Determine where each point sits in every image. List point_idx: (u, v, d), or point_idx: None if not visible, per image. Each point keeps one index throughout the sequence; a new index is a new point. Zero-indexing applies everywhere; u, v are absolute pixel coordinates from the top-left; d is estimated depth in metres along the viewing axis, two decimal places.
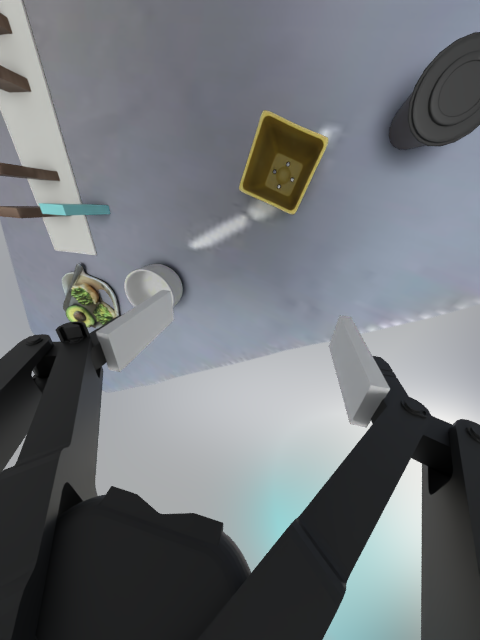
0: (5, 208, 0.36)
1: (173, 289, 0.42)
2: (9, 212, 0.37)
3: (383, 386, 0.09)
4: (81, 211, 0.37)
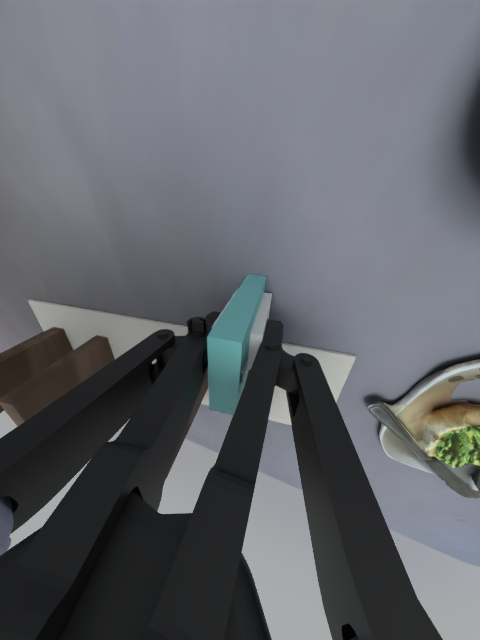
0: None
1: None
2: None
3: (259, 334, 0.11)
4: (244, 308, 0.12)
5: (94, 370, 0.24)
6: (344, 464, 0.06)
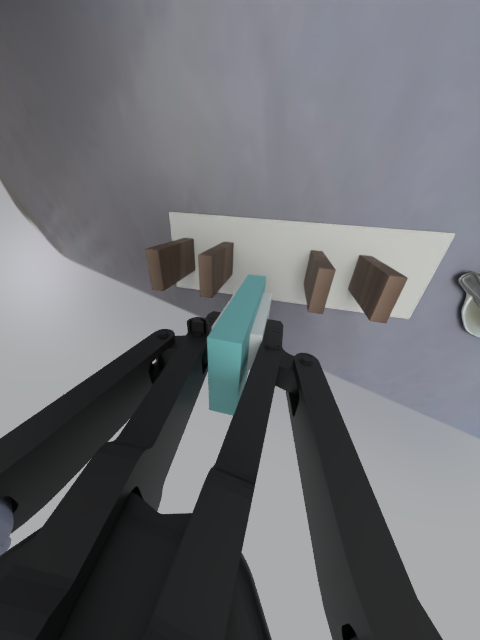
0: (381, 300, 0.21)
1: None
2: (390, 296, 0.20)
3: (259, 334, 0.11)
4: (244, 309, 0.12)
5: (228, 265, 0.30)
6: (344, 464, 0.06)
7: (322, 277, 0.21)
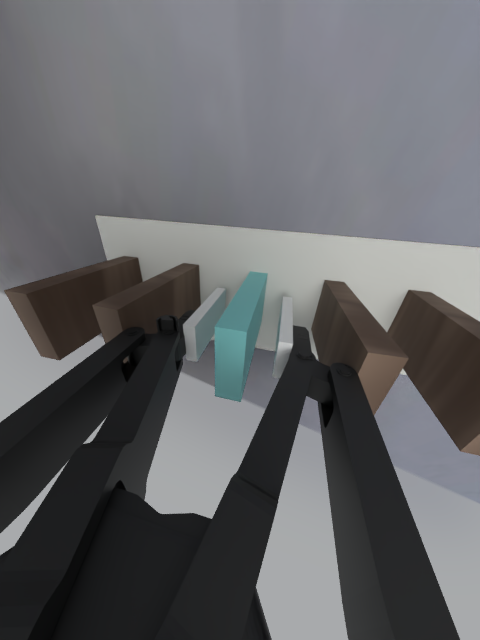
0: None
1: None
2: None
3: (288, 342, 0.11)
4: (248, 302, 0.12)
5: (186, 304, 0.18)
6: (382, 487, 0.05)
7: (373, 370, 0.09)
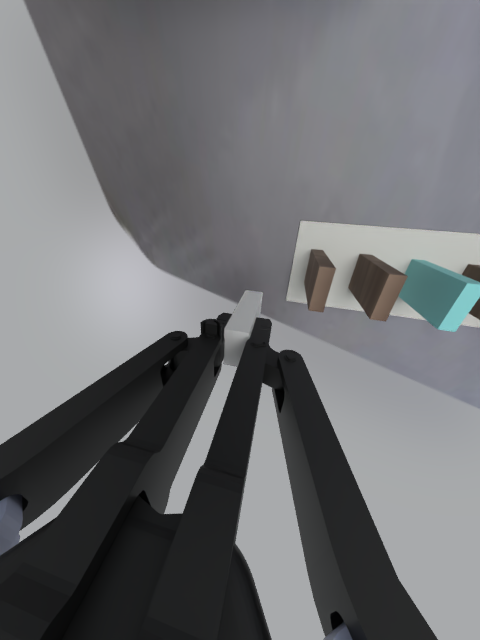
0: None
1: None
2: None
3: (245, 331, 0.12)
4: (455, 274, 0.21)
5: None
6: (328, 456, 0.06)
7: None
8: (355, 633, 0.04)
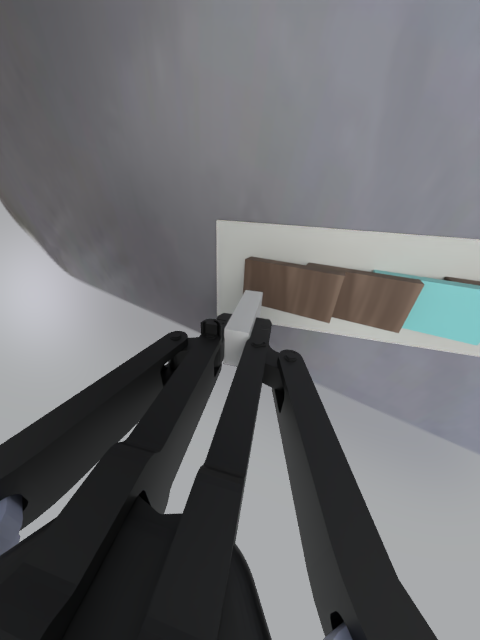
0: None
1: None
2: None
3: (245, 331, 0.12)
4: (458, 283, 0.18)
5: None
6: (328, 456, 0.06)
7: None
8: (355, 633, 0.04)
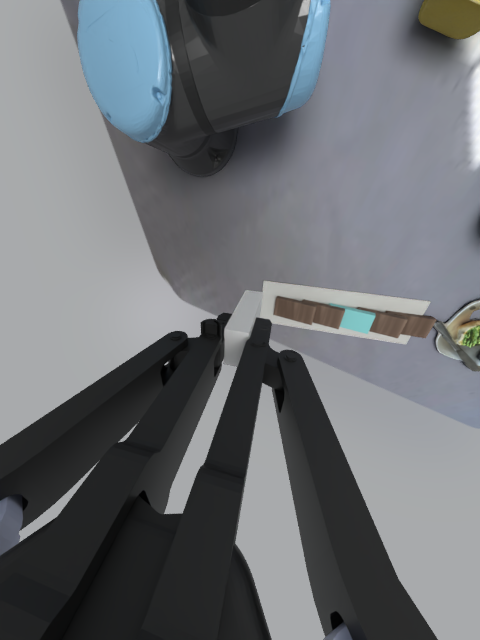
0: None
1: None
2: None
3: (245, 331, 0.12)
4: (359, 310, 0.48)
5: None
6: (328, 456, 0.06)
7: None
8: (355, 633, 0.04)
